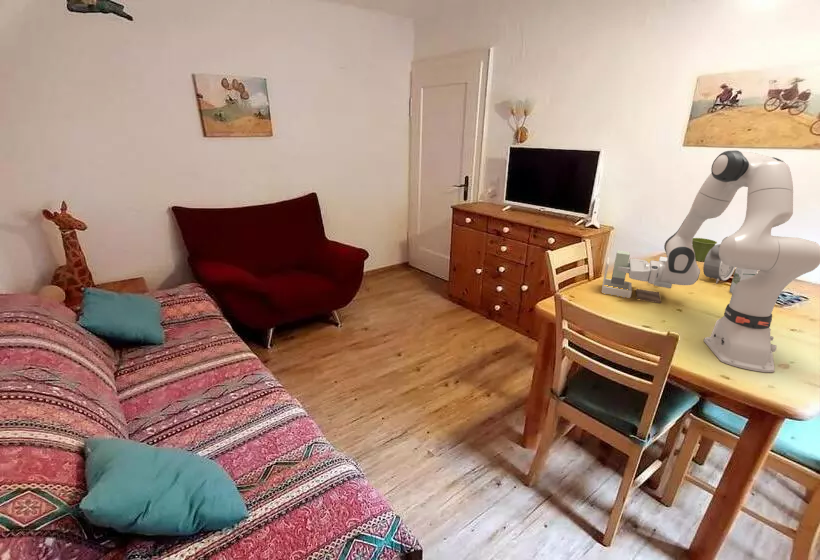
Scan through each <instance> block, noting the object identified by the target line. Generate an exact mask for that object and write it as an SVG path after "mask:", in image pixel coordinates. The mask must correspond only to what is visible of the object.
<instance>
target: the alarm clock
mask: <svg viewBox="0 0 820 560" xmlns="http://www.w3.org/2000/svg"><path fill="white" fill-rule="evenodd" d="M727 237H728V236H726V237H724V238H723V239H722V240H721V242H720V243H719V244H718V243H717V244H715V246H714V247H712V249H711V250H710V251H709V252H708V254H707V256H706V258H705V261H704V262H703V268H702V269H703V271H702V272H703V274H704V276H705V277H706V278H709V279H710V280H711V279H715V280H716V282H715V284H718V283H719V281H720V280H721V281H727V280H729V279H730V278H731V277H732V275H734V273H735V270H736V267H732V266H729V265H725V264H724V263H723V262H722V261H721V259H720V257H719V247H720V245H721V243H722V242H723V241H724V240H725V239H726V238H727Z"/></svg>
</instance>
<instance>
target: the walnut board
mask: <svg viewBox="0 0 820 560" xmlns="http://www.w3.org/2000/svg"><path fill="white" fill-rule="evenodd" d="M635 293H636V294H635V295H637V297H636V300H637V299H640V300H639V301H643V300H645V301H644V302H650V303H651V302H652V303H655V304H656V303H657V304H661V303H662V299H661V295H660V292H659V291H653V290H647V289H639V288H636V290H635Z"/></svg>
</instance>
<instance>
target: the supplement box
mask: <svg viewBox="0 0 820 560" xmlns="http://www.w3.org/2000/svg"><path fill="white" fill-rule="evenodd" d="M658 261H661V262H666V261H667V256H659V259H658ZM653 286H656V287H661V288H666V289H667V288H668V289H671V288H672V286H673V284H670V283H667V282H655V283H654V284H653Z"/></svg>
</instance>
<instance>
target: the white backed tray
mask: <svg viewBox="0 0 820 560" xmlns="http://www.w3.org/2000/svg"><path fill="white" fill-rule="evenodd" d="M609 265H610V257H609V256H608V257H607V259H606V265H605V269H604V274H603V281H602V285H601V286H602V287H601V292H602V293H605V294H604V295H606V294H611V295H610V296H612V295H617V296H616V297H619V296H622V297H621V298H625V297H627V298H626V299H630V298H631V297H632V292H633V289H632V288H633V284H632V282H629V281H624V285H619V284H612V283H611V279H612V278H607V274H608V269H609ZM604 285H608V286H613V287H618V288H613V287H607V286H604ZM619 288H623V289H619ZM626 289H628V290H626Z"/></svg>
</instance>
